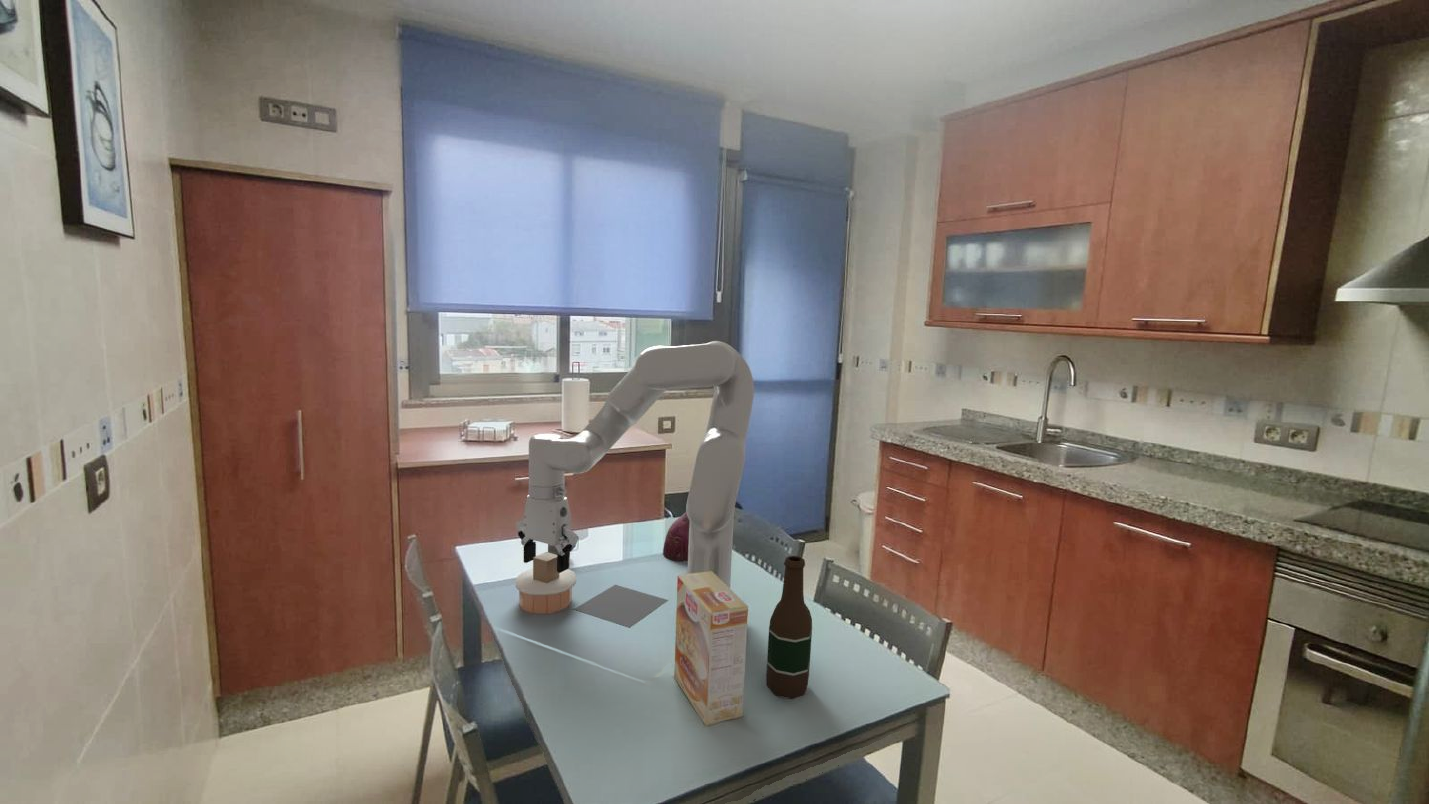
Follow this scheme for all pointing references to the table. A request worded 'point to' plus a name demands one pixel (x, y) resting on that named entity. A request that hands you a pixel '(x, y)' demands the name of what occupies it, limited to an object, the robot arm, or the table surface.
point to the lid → (545, 577)
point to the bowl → (545, 602)
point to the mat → (621, 605)
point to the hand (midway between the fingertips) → (546, 565)
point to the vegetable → (677, 540)
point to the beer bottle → (790, 636)
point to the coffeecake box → (710, 646)
